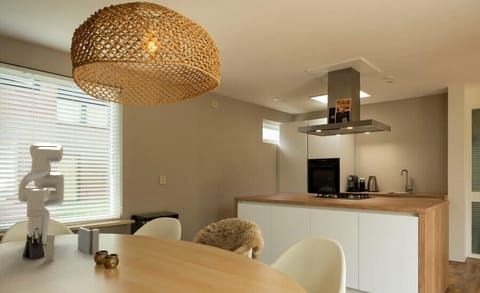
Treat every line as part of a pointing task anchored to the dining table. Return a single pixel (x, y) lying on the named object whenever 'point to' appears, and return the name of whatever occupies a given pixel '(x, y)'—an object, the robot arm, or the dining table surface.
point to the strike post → (50, 247)
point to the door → (84, 240)
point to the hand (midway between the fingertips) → (33, 249)
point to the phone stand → (33, 249)
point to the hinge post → (95, 241)
